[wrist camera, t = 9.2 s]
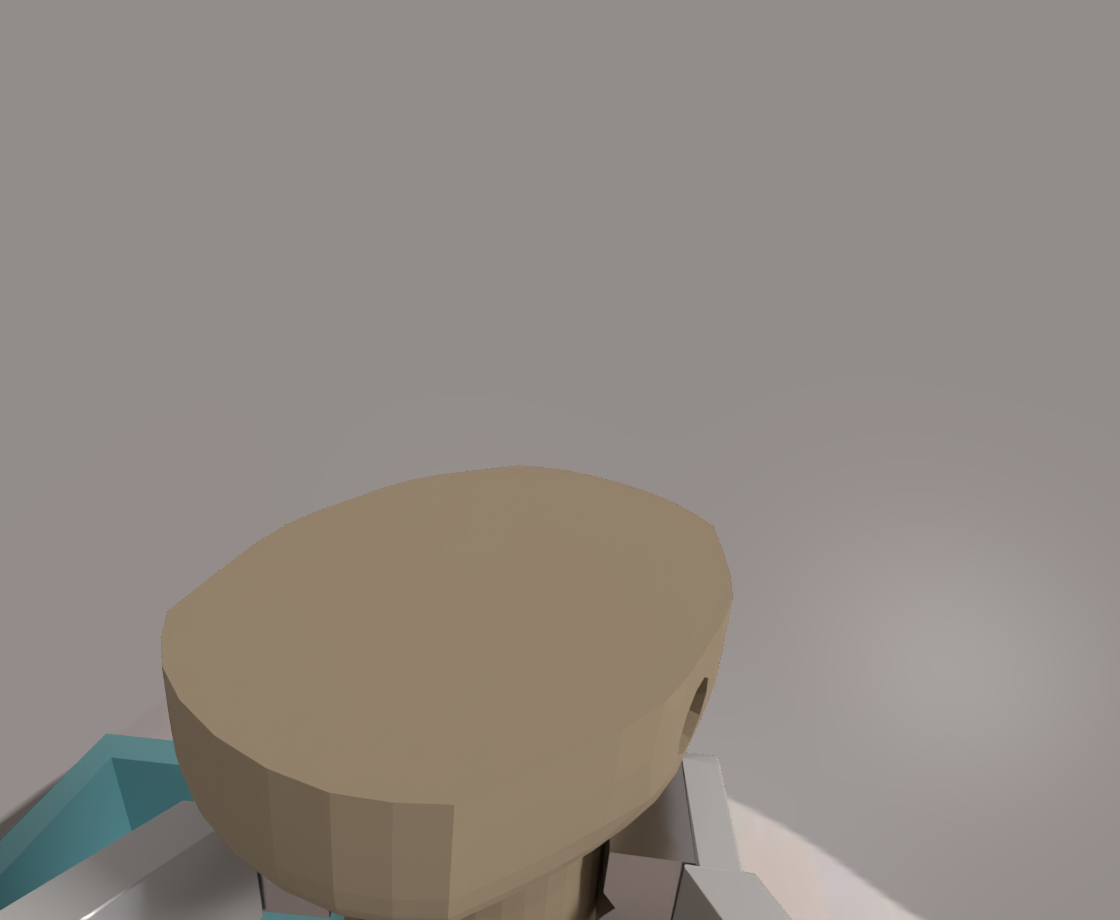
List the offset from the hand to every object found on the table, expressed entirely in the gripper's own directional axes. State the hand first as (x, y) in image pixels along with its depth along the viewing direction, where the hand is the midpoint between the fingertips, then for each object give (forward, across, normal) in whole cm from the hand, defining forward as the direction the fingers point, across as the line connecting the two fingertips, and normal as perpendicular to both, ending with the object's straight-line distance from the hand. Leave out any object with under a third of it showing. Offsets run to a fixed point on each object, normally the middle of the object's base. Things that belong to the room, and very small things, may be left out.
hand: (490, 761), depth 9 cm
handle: (-1, 0, +12) cm, 12 cm away
